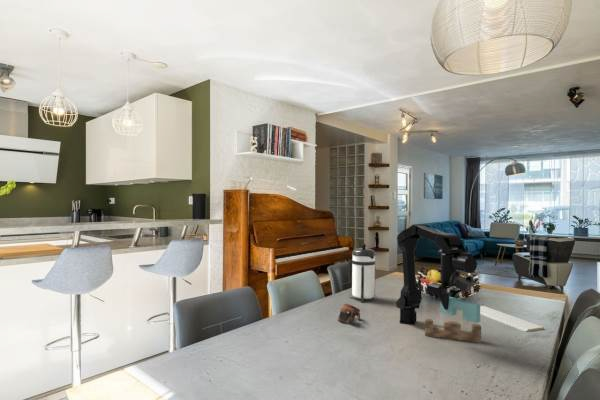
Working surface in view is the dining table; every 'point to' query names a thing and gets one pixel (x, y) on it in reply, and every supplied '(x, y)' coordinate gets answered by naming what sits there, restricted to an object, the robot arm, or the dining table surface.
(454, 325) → the walnut slotted board
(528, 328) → the baseboard molding
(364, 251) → the coffee press
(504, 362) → the dining table surface
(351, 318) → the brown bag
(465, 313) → the teal notched plate
